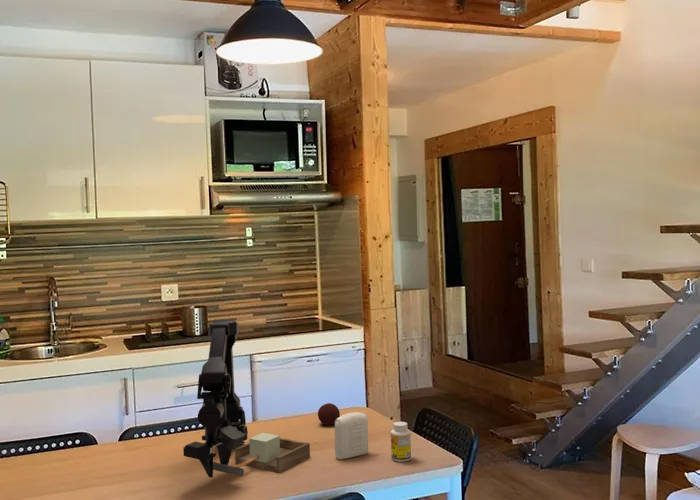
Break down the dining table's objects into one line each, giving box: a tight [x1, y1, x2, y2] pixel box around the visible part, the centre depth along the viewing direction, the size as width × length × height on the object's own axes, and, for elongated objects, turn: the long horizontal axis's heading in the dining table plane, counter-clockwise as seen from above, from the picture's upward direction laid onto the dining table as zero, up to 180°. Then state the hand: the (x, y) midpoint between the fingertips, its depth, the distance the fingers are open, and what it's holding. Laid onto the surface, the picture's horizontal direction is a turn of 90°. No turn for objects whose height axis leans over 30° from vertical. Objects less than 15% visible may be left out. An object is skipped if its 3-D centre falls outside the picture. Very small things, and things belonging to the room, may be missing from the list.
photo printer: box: [334, 411, 369, 460], centre depth 197 cm, size 10×4×12 cm, turn 123°
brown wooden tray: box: [234, 437, 311, 473], centre depth 195 cm, size 16×14×4 cm
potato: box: [317, 402, 341, 426], centre depth 228 cm, size 7×8×7 cm
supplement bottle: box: [390, 421, 412, 463], centre depth 192 cm, size 6×6×10 cm
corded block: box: [213, 432, 281, 477], centre depth 186 cm, size 10×20×6 cm, turn 147°
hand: (217, 474), depth 181 cm, fingers open, 5 cm apart
